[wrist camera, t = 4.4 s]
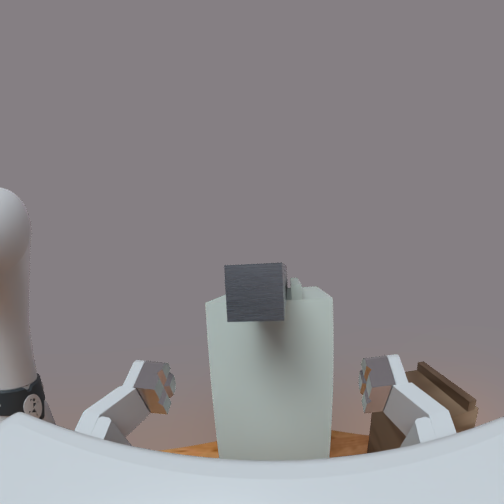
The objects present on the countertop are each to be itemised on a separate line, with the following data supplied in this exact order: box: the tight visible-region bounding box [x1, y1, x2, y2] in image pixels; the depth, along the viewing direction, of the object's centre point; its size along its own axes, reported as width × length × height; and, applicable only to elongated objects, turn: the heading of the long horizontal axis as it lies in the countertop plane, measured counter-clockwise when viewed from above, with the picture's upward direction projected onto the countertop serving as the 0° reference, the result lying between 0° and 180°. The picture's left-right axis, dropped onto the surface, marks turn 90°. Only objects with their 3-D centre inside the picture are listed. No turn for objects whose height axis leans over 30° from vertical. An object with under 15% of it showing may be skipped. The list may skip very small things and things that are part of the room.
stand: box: [205, 278, 333, 460], centre depth 30 cm, size 10×14×27 cm
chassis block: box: [367, 362, 478, 453], centre depth 25 cm, size 7×13×16 cm, turn 173°
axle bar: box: [224, 263, 287, 322], centre depth 26 cm, size 3×23×3 cm, turn 173°
